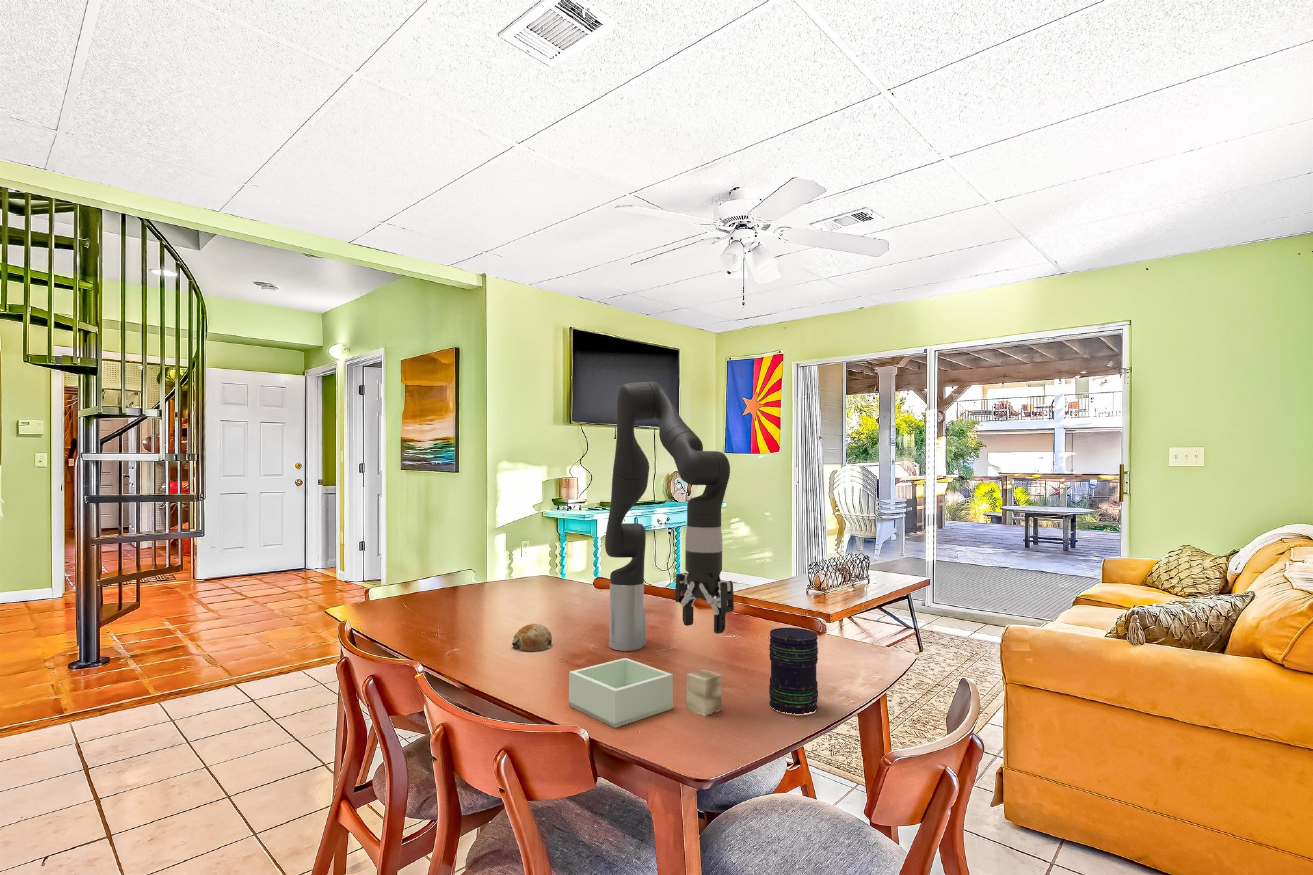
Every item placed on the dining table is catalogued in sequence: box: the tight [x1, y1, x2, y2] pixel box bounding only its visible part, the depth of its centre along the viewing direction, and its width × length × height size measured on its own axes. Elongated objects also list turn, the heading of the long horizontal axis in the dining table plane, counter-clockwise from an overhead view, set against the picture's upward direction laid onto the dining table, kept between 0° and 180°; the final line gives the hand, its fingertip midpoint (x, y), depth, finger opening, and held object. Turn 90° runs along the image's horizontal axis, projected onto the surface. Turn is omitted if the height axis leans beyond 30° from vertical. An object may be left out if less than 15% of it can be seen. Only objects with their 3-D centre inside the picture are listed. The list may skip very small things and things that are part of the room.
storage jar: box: [768, 627, 819, 714], centre depth 133 cm, size 10×10×15 cm
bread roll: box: [511, 623, 553, 653], centre depth 174 cm, size 10×10×8 cm
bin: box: [568, 657, 674, 729], centre depth 132 cm, size 15×15×7 cm
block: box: [686, 669, 723, 717], centre depth 131 cm, size 5×5×7 cm
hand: (703, 628), depth 131 cm, fingers open, 8 cm apart
